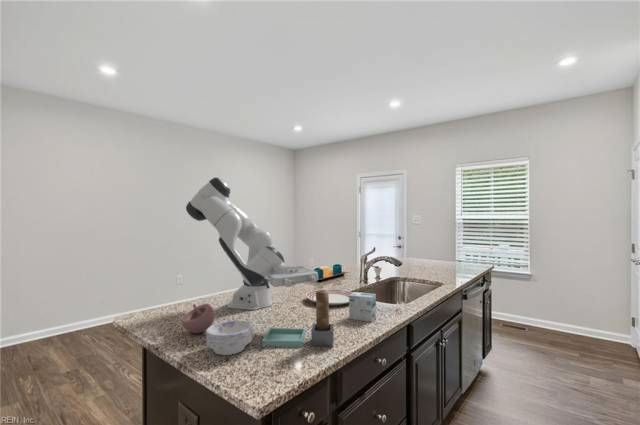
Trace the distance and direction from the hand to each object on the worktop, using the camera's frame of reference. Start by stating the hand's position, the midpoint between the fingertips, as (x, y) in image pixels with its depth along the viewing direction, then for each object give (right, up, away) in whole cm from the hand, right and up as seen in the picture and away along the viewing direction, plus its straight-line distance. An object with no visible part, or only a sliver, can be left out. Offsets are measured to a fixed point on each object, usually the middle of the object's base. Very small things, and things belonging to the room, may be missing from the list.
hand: (303, 281), depth 122 cm
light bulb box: (+25, -20, +17) cm, 37 cm away
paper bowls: (-25, -21, -13) cm, 35 cm away
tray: (-6, -20, -7) cm, 22 cm away
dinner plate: (+13, -21, +46) cm, 52 cm away
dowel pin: (+7, -20, -10) cm, 23 cm away
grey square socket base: (+7, -20, -10) cm, 24 cm away
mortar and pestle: (-42, -21, +3) cm, 47 cm away
